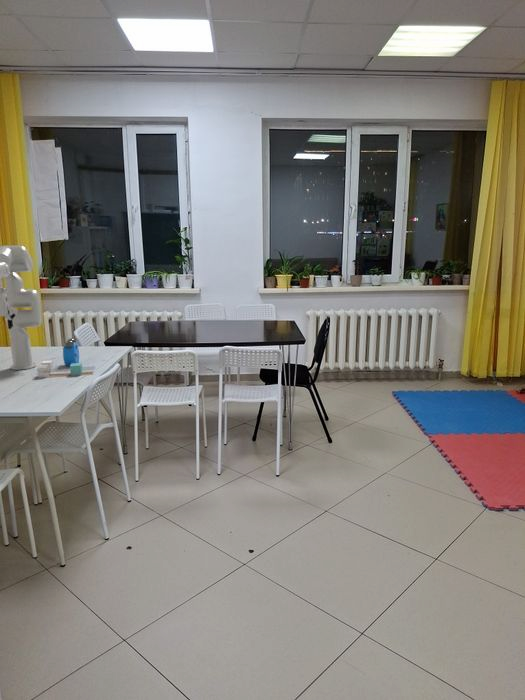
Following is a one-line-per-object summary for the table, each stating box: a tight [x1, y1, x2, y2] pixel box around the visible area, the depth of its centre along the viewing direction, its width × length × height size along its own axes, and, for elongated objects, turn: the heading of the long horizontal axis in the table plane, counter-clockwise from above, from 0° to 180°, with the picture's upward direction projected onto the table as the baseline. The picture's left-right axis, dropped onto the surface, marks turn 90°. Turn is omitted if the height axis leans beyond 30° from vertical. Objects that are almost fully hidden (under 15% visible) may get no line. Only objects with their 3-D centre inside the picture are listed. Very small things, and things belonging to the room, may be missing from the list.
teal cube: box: [69, 362, 83, 377], centre depth 238 cm, size 5×5×5 cm
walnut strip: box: [36, 364, 95, 379], centre depth 237 cm, size 7×26×6 cm, turn 104°
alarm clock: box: [62, 338, 80, 367], centre depth 257 cm, size 13×6×15 cm, turn 12°
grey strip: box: [40, 360, 96, 374], centre depth 246 cm, size 7×26×6 cm, turn 104°
